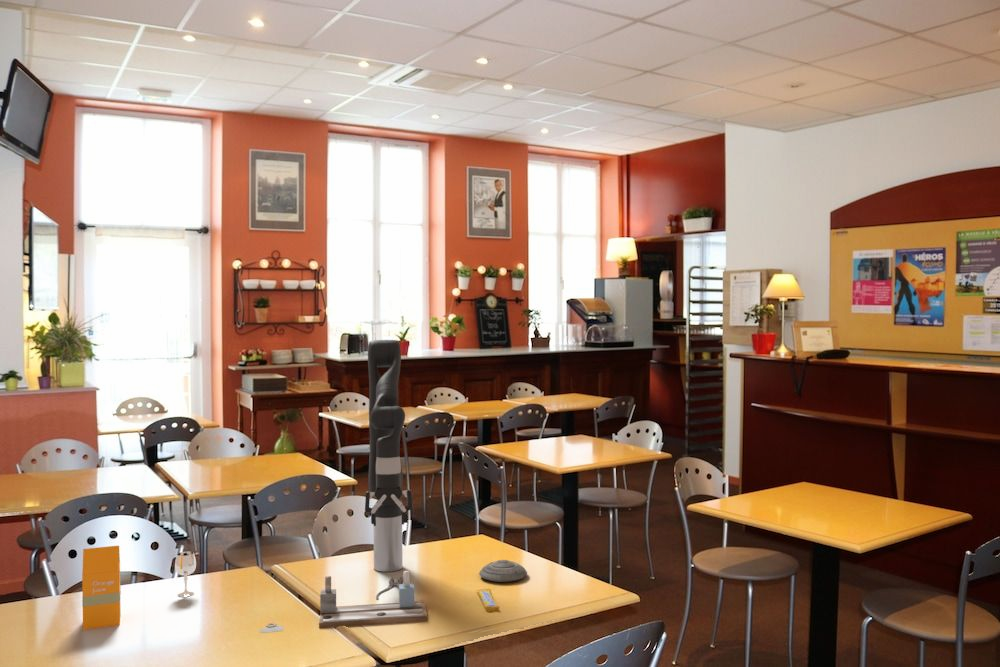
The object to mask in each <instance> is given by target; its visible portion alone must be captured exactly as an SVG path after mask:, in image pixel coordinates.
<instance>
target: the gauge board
mask: <svg viewBox="0 0 1000 667" xmlns="http://www.w3.org/2000/svg"><path fill="white" fill-rule="evenodd" d="M319 596H320V599H319V600H320V601H319V603H320V607H319V608H320V610H319V611H320V615H319V621H318V627H319V628H332V627H349V626H364V625H378V624H379V625H380V624H395V623H397V624H398V623H413V622H414V623H415V622H425V621H428V614H427V609H426V603H425V601H424V600H422V601H414V606H412V607H400V606H399V602H391V603H390V602H389V603H376V604H375V603H374V604H358V605H357V604H356V605H355V604H354V605H339V606H337V589H336V588H332V576H331V575H327V576H325V577H324V589H320V593H319Z"/></svg>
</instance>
